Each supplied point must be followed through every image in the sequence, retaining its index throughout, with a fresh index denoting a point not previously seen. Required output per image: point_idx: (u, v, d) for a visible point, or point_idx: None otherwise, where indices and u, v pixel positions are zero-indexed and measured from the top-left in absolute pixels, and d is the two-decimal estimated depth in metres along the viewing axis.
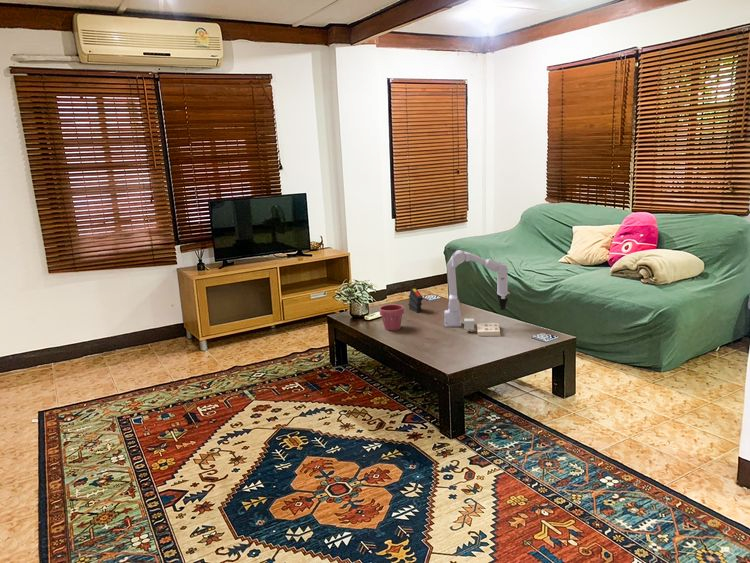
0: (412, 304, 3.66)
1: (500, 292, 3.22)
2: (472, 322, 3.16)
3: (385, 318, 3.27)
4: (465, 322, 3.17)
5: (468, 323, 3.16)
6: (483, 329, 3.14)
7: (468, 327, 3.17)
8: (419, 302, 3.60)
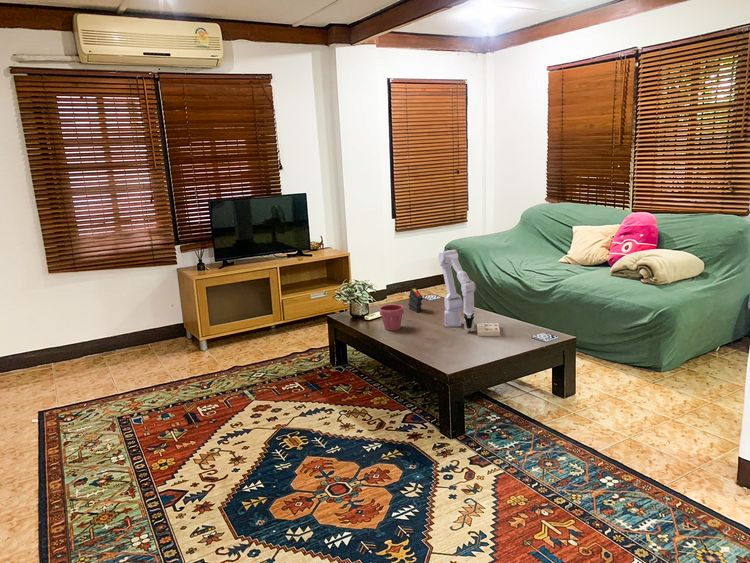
0: (412, 304, 3.66)
1: (466, 311, 3.15)
2: (472, 322, 3.16)
3: (385, 318, 3.27)
4: (465, 322, 3.17)
5: None
6: (483, 329, 3.14)
7: None
8: (419, 302, 3.60)
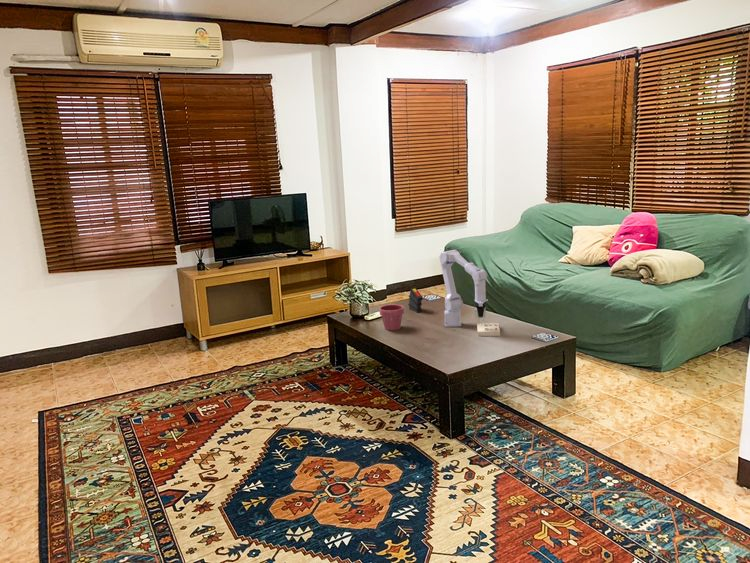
0: (412, 304, 3.66)
1: (478, 299, 3.10)
2: (484, 310, 3.11)
3: (385, 318, 3.27)
4: (476, 311, 3.12)
5: None
6: (483, 329, 3.14)
7: None
8: (419, 302, 3.60)
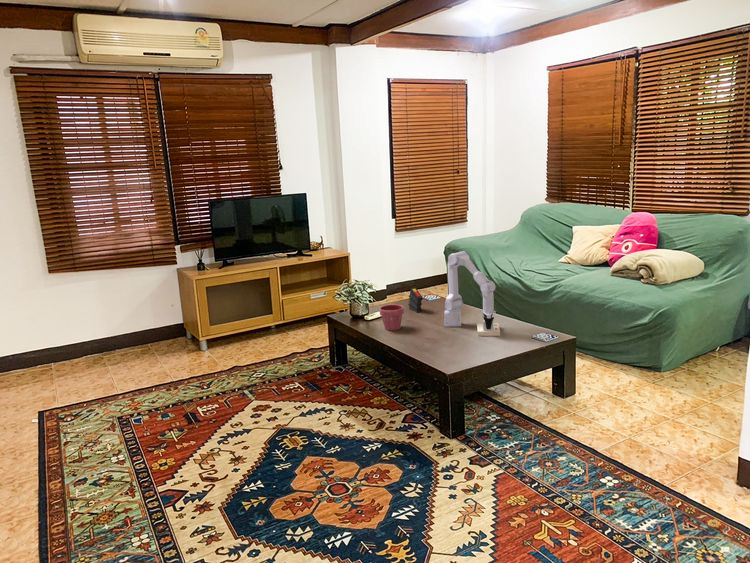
0: (412, 304, 3.66)
1: (486, 311, 3.09)
2: (492, 322, 3.11)
3: (385, 318, 3.27)
4: (484, 323, 3.11)
5: None
6: None
7: None
8: (419, 302, 3.60)
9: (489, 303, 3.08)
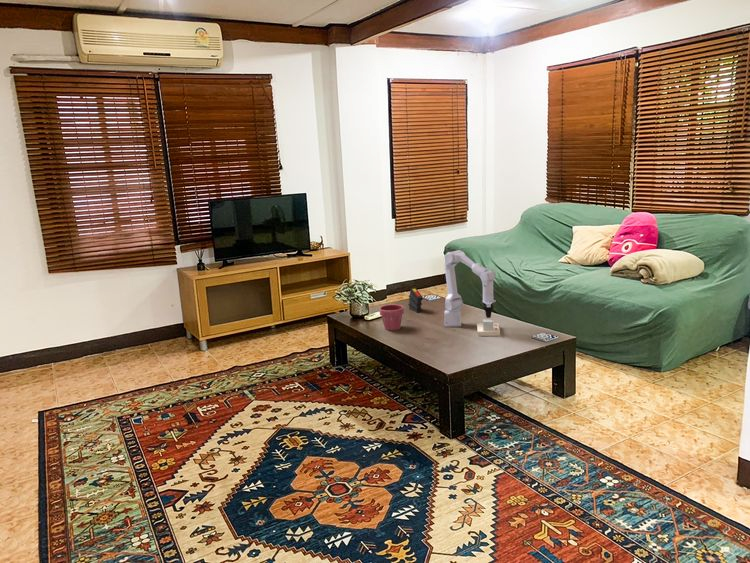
0: (412, 304, 3.66)
1: (486, 300, 3.08)
2: (492, 322, 3.11)
3: (385, 318, 3.27)
4: (484, 323, 3.11)
5: (487, 324, 3.11)
6: None
7: (487, 328, 3.12)
8: (419, 302, 3.60)
9: (489, 292, 3.06)
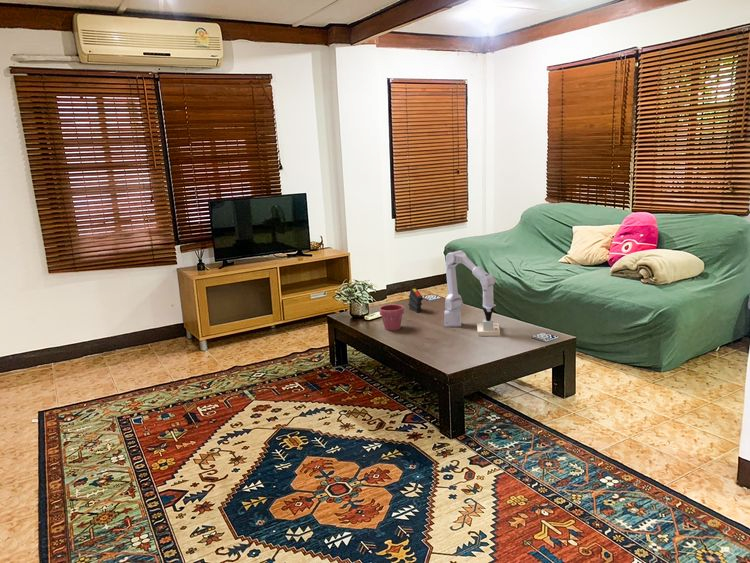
0: (412, 304, 3.66)
1: (486, 304, 3.09)
2: (492, 322, 3.11)
3: (385, 318, 3.27)
4: (484, 323, 3.11)
5: (487, 324, 3.11)
6: None
7: (487, 328, 3.12)
8: (419, 302, 3.60)
9: (489, 296, 3.07)
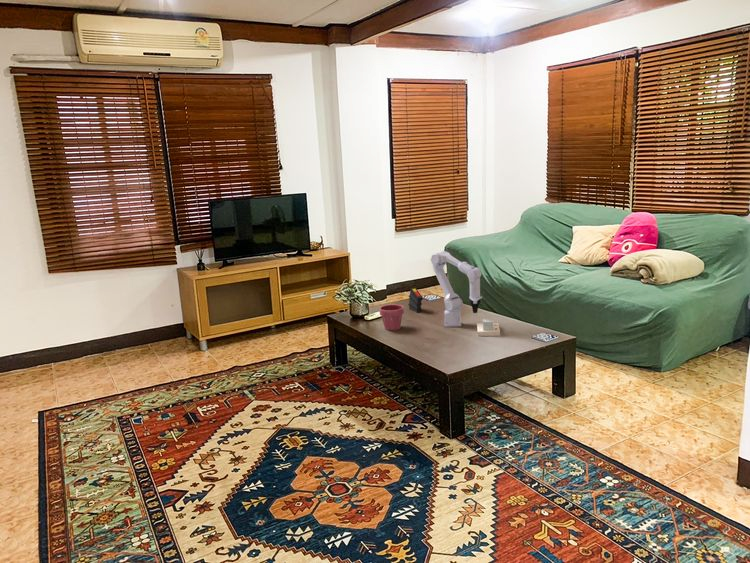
0: (412, 304, 3.66)
1: (472, 297, 3.16)
2: (492, 322, 3.11)
3: (385, 318, 3.27)
4: (484, 323, 3.11)
5: (487, 324, 3.11)
6: None
7: (487, 328, 3.12)
8: (419, 302, 3.60)
9: (476, 289, 3.15)
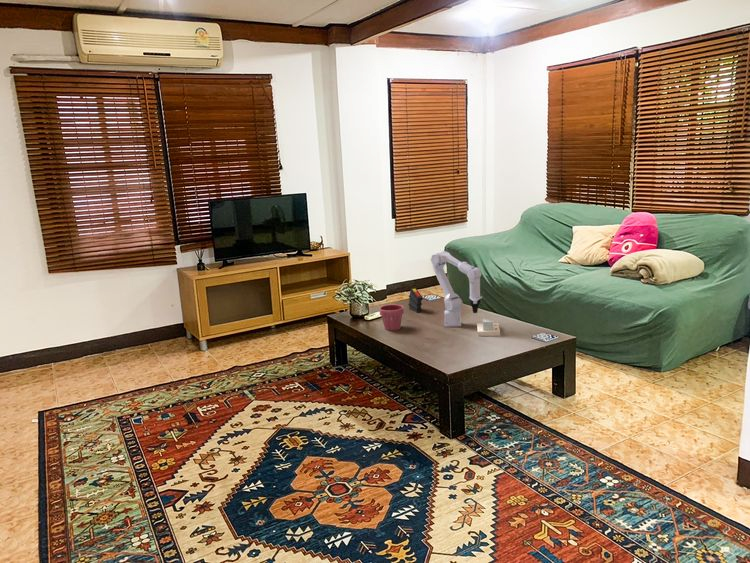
0: (412, 304, 3.66)
1: (472, 297, 3.16)
2: (492, 322, 3.11)
3: (385, 318, 3.27)
4: (484, 323, 3.11)
5: (487, 324, 3.11)
6: None
7: (487, 328, 3.12)
8: (419, 302, 3.60)
9: (476, 289, 3.15)
